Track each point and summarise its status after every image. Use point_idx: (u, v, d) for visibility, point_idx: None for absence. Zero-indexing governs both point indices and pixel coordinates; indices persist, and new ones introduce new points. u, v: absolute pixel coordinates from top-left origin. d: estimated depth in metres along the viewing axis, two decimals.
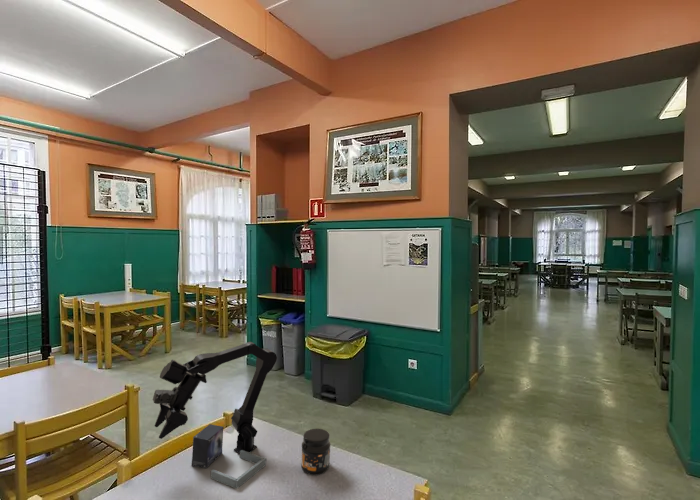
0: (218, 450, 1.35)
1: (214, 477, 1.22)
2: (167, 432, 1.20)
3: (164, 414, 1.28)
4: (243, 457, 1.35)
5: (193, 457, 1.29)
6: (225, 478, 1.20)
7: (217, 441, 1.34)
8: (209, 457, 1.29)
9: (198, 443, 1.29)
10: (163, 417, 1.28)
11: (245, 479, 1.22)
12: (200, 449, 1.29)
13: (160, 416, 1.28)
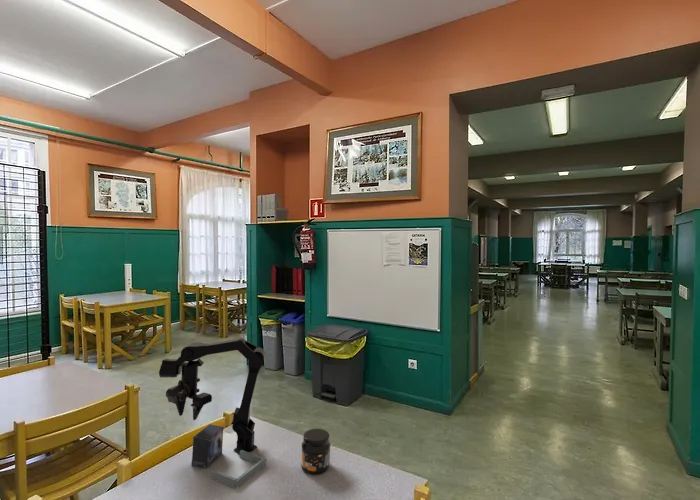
0: (218, 450, 1.35)
1: (214, 477, 1.22)
2: (198, 412, 1.37)
3: (181, 403, 1.40)
4: (243, 457, 1.35)
5: (193, 457, 1.29)
6: (225, 478, 1.20)
7: (217, 441, 1.34)
8: (209, 457, 1.29)
9: (198, 444, 1.29)
10: (182, 405, 1.40)
11: (245, 479, 1.22)
12: (200, 449, 1.29)
13: (179, 406, 1.39)
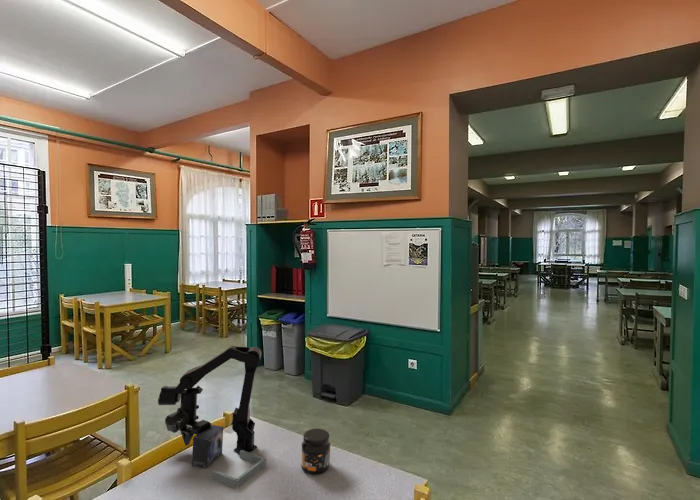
0: (218, 450, 1.35)
1: (214, 477, 1.22)
2: (190, 438, 1.39)
3: None
4: (243, 457, 1.35)
5: (193, 457, 1.29)
6: (225, 478, 1.20)
7: (217, 441, 1.34)
8: (209, 457, 1.29)
9: (198, 444, 1.29)
10: None
11: (245, 479, 1.22)
12: (200, 449, 1.29)
13: None
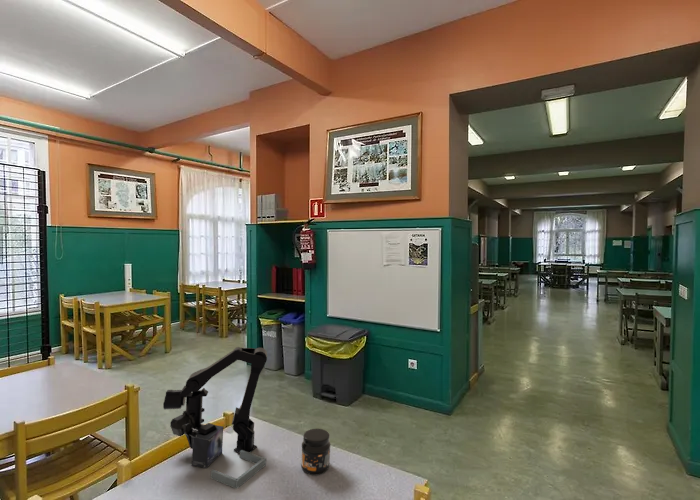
0: (218, 450, 1.35)
1: (214, 477, 1.22)
2: None
3: None
4: (243, 457, 1.35)
5: (193, 457, 1.29)
6: (225, 478, 1.20)
7: (217, 441, 1.34)
8: (209, 457, 1.29)
9: (198, 443, 1.29)
10: None
11: (245, 479, 1.22)
12: (200, 449, 1.29)
13: (190, 439, 1.37)
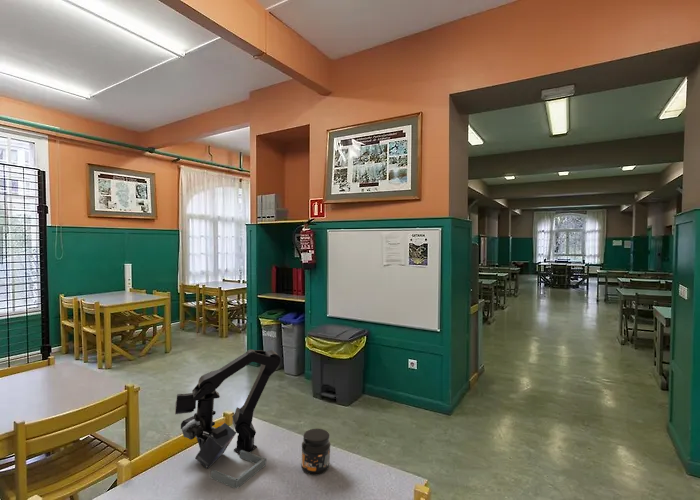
0: (222, 453, 1.34)
1: (214, 477, 1.22)
2: None
3: None
4: (243, 457, 1.35)
5: (200, 452, 1.28)
6: (225, 478, 1.20)
7: (226, 446, 1.33)
8: (214, 460, 1.28)
9: (211, 444, 1.27)
10: None
11: (245, 479, 1.22)
12: (210, 450, 1.27)
13: None
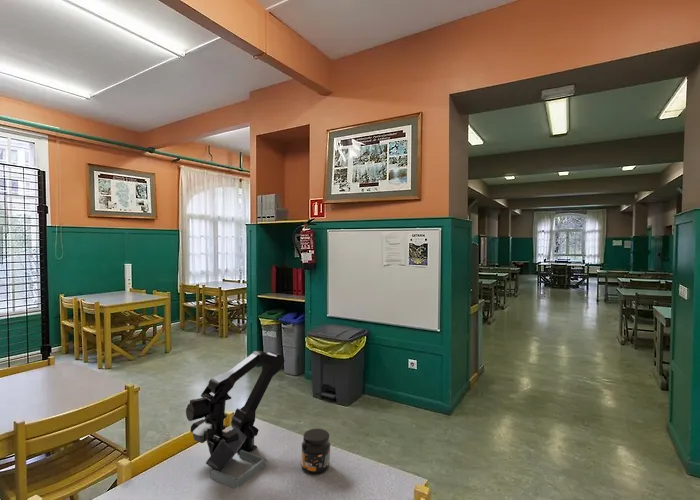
0: (232, 457, 1.31)
1: (214, 477, 1.22)
2: None
3: None
4: (243, 457, 1.35)
5: (211, 457, 1.25)
6: (225, 478, 1.20)
7: (237, 450, 1.30)
8: (225, 465, 1.26)
9: (223, 449, 1.25)
10: None
11: (245, 479, 1.22)
12: (222, 455, 1.25)
13: None
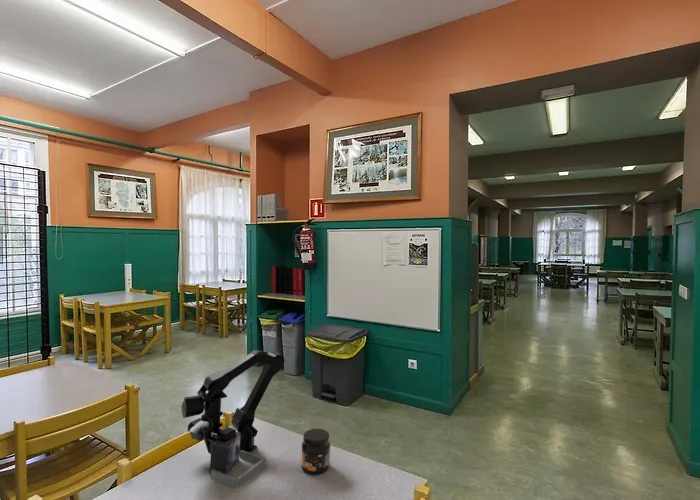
0: (235, 457, 1.31)
1: (214, 477, 1.22)
2: None
3: None
4: (243, 457, 1.35)
5: (211, 465, 1.25)
6: (225, 478, 1.20)
7: (235, 448, 1.30)
8: (228, 464, 1.25)
9: (217, 451, 1.24)
10: None
11: (245, 479, 1.22)
12: (219, 456, 1.24)
13: (209, 444, 1.33)
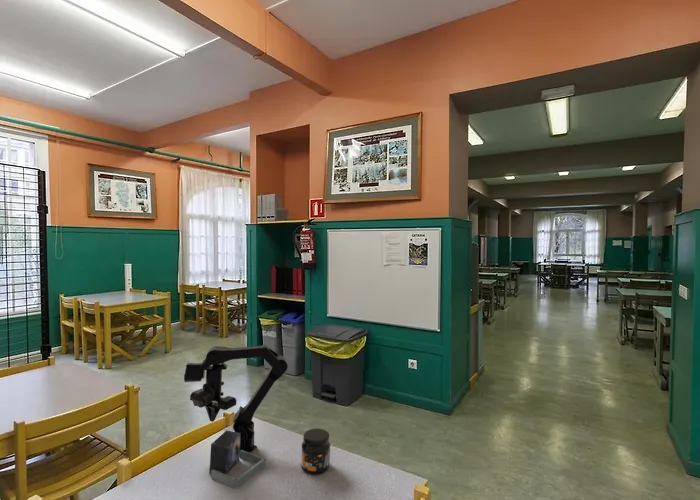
0: (235, 457, 1.31)
1: (214, 477, 1.22)
2: (216, 414, 1.39)
3: None
4: (243, 457, 1.35)
5: (211, 465, 1.25)
6: (225, 478, 1.20)
7: (235, 448, 1.30)
8: (227, 465, 1.25)
9: (216, 451, 1.25)
10: None
11: (245, 479, 1.22)
12: (218, 457, 1.24)
13: (210, 412, 1.38)
